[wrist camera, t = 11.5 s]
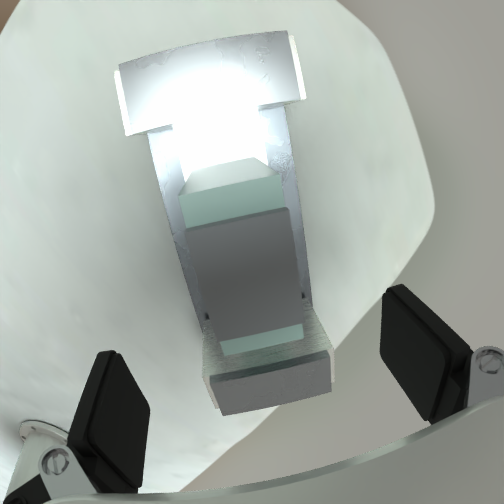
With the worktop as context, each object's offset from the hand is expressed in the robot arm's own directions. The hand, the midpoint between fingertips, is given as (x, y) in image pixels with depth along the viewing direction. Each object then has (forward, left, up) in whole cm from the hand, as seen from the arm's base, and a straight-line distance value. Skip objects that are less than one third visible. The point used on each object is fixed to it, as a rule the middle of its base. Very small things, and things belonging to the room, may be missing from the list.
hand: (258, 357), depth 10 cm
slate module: (0, 0, -15) cm, 14 cm away
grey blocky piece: (0, 0, -16) cm, 16 cm away
